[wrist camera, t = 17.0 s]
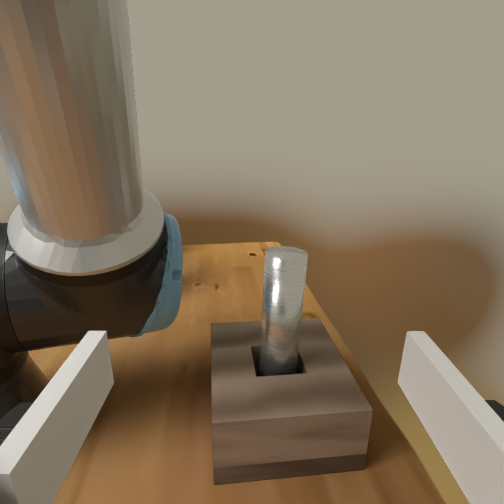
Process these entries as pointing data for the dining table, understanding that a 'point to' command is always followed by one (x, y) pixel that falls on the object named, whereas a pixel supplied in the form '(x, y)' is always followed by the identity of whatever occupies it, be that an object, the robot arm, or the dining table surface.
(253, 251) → the dining table surface
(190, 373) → the dining table surface
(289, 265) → the steel pin
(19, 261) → the robot arm
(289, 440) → the socket block
